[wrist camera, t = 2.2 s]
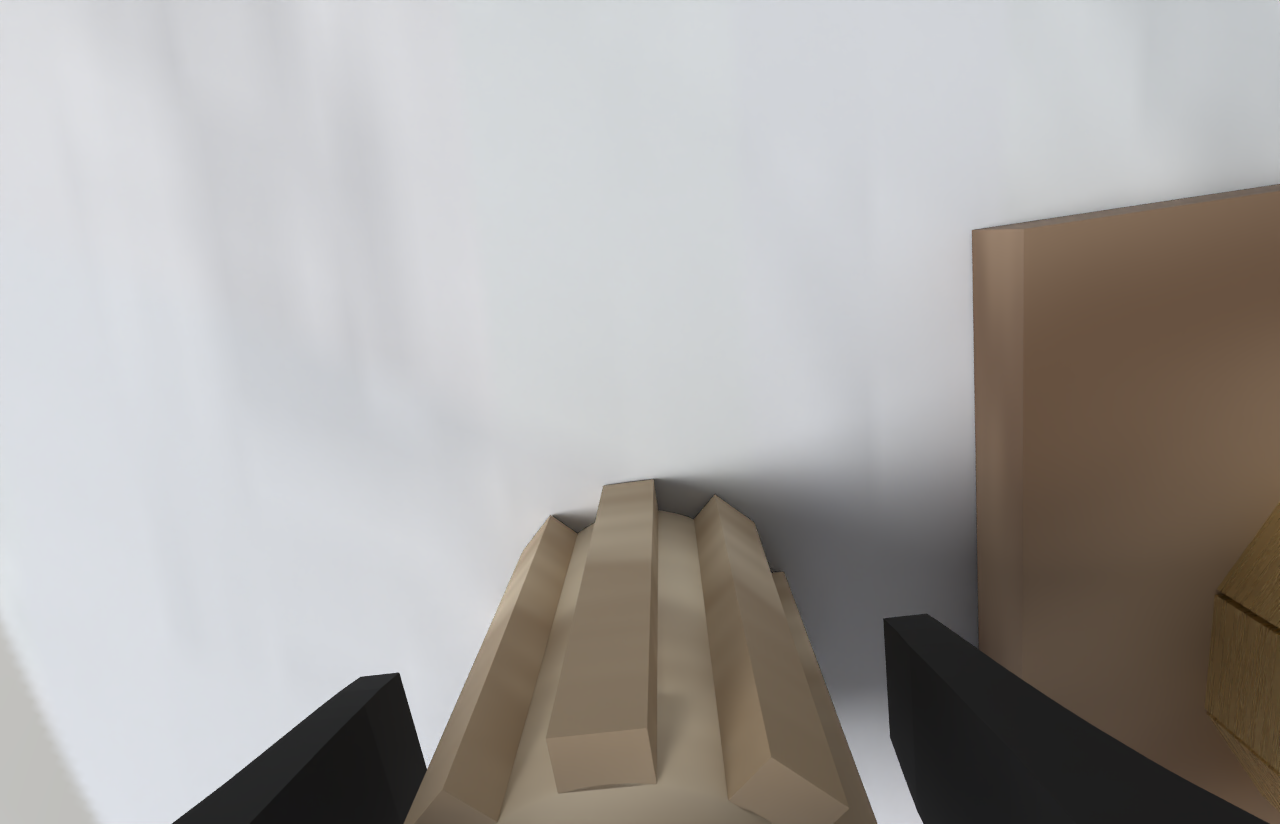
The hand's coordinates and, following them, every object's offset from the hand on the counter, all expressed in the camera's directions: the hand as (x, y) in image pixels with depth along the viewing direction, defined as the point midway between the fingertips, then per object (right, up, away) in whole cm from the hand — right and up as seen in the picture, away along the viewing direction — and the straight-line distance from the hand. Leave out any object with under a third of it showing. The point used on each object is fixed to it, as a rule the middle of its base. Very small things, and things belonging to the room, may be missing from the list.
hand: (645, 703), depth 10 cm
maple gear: (0, +1, +3) cm, 3 cm away
